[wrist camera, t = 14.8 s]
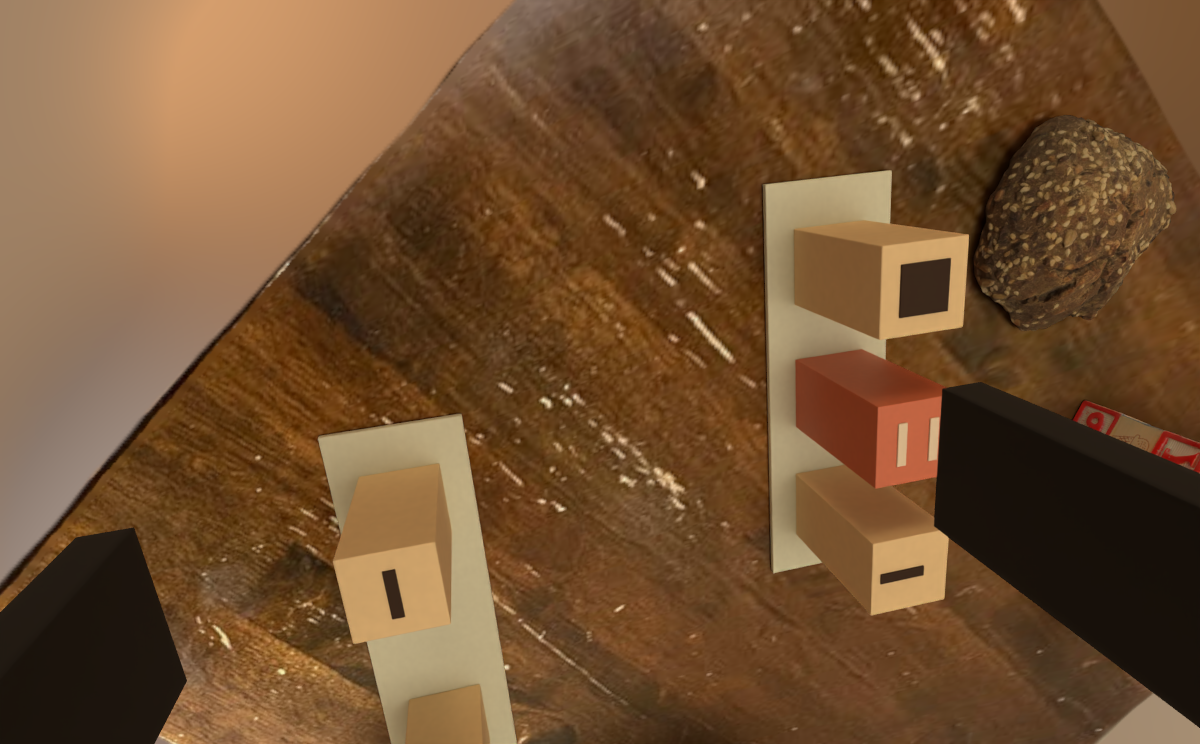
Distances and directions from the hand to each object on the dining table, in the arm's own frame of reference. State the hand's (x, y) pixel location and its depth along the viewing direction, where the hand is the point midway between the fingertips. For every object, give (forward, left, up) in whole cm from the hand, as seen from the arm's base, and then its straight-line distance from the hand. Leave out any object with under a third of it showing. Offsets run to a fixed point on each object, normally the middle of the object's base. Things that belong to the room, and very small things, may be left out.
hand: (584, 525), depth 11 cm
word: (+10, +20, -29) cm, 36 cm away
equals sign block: (+10, +20, -28) cm, 36 cm away
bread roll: (+2, +36, -29) cm, 46 cm away
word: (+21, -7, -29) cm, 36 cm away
